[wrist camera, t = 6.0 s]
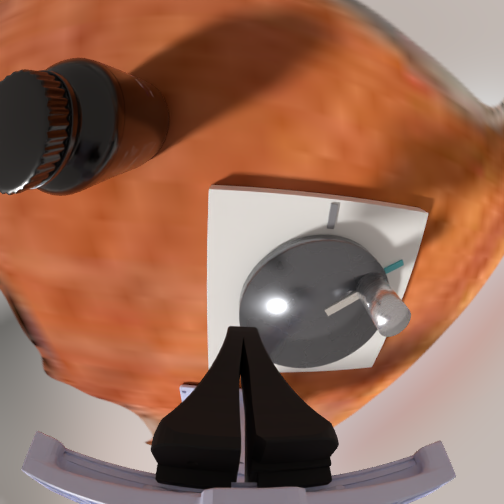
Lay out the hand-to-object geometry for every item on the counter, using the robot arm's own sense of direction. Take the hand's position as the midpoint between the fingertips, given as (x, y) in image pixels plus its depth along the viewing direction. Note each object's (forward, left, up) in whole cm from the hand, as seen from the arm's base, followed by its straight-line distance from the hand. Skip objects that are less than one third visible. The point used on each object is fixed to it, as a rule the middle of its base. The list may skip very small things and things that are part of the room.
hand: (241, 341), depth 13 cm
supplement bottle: (+10, +9, -10) cm, 17 cm away
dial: (-3, -6, -8) cm, 10 cm away
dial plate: (-3, -6, -9) cm, 12 cm away
